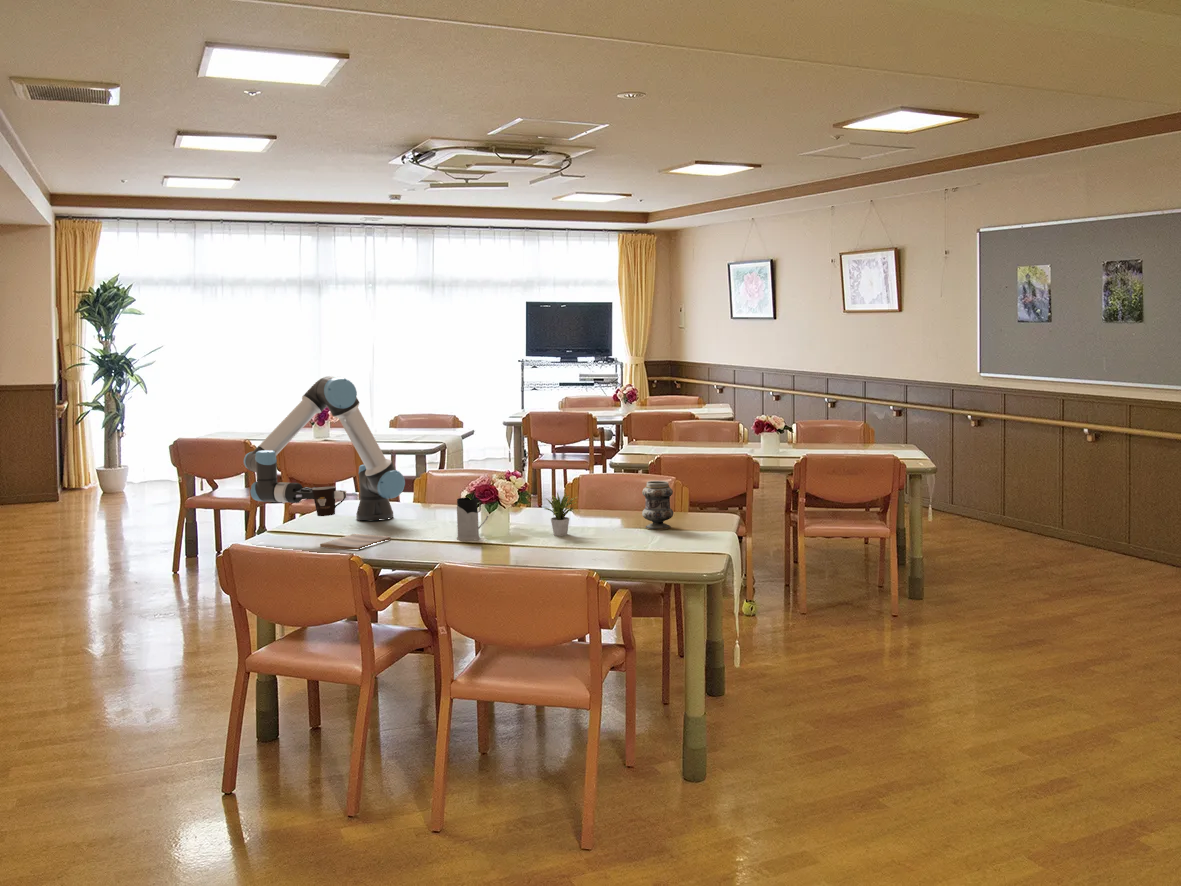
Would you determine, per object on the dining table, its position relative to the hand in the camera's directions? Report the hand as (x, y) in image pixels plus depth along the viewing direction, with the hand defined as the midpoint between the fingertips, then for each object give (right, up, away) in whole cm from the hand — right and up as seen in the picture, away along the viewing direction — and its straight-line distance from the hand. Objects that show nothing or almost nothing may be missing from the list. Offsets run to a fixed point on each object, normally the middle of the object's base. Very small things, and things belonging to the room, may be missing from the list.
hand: (344, 494), depth 411 cm
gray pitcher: (+48, -17, +7) cm, 51 cm away
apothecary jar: (+118, -14, +19) cm, 120 cm away
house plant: (+80, -16, +8) cm, 82 cm away
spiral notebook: (+4, -18, -1) cm, 19 cm away
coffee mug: (-6, -8, +1) cm, 10 cm away
